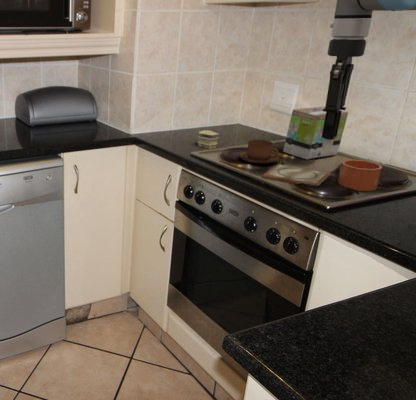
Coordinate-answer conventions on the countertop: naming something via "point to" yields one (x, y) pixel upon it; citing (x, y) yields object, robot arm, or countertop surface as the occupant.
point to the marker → (328, 141)
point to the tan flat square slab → (296, 175)
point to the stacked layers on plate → (207, 139)
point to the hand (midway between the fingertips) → (329, 136)
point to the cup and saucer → (260, 152)
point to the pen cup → (359, 175)
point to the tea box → (310, 133)
